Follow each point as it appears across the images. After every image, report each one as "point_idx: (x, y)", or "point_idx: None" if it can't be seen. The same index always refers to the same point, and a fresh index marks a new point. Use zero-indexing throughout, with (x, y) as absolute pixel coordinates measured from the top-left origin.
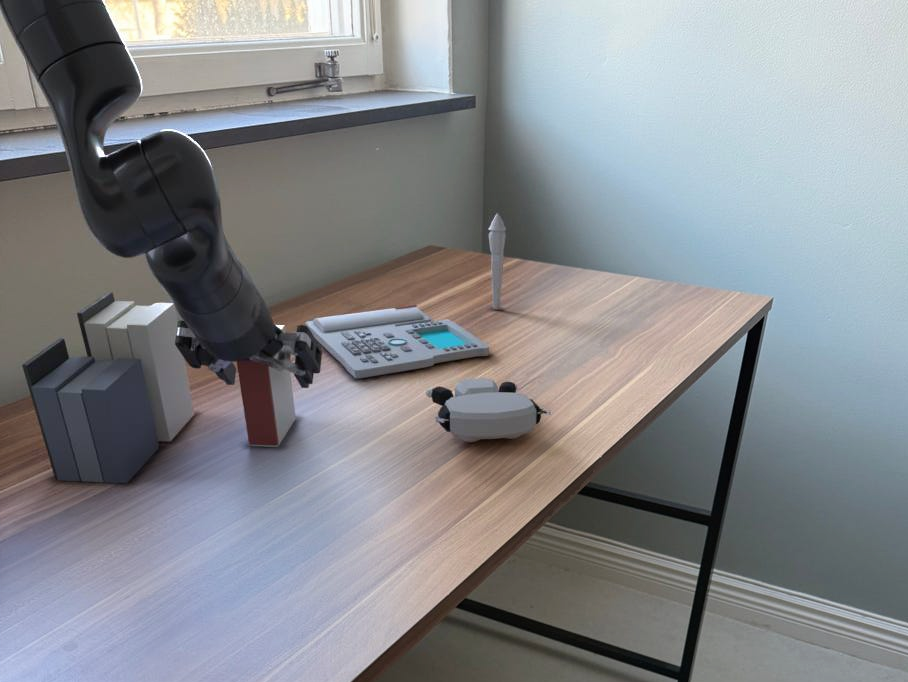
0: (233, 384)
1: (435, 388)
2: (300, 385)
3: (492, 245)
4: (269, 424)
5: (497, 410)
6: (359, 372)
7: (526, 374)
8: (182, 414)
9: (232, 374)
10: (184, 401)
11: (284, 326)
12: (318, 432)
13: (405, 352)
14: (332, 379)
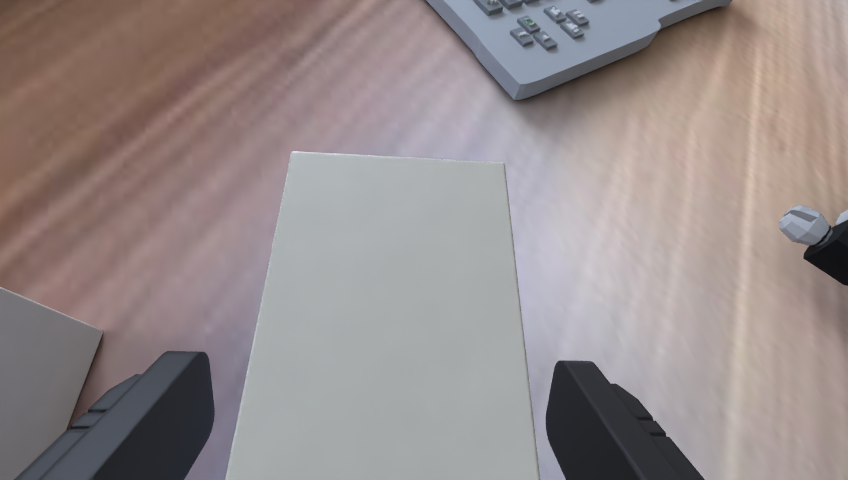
0: (210, 432)
1: (846, 237)
2: (557, 460)
3: None
4: None
5: None
6: (528, 87)
7: (837, 71)
8: (33, 432)
9: (191, 420)
10: (24, 383)
11: (504, 173)
12: None
13: (592, 4)
14: (457, 98)
